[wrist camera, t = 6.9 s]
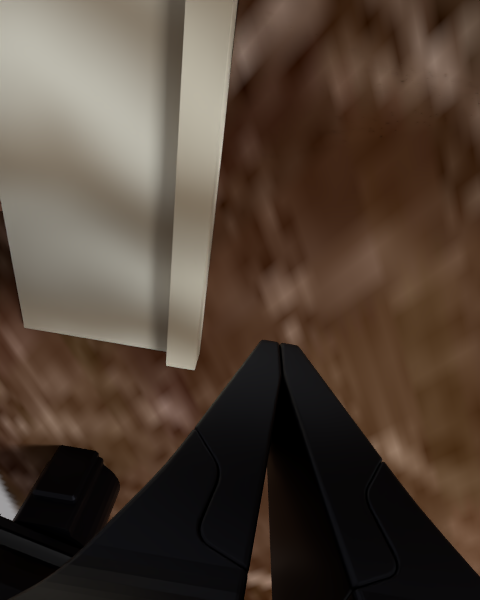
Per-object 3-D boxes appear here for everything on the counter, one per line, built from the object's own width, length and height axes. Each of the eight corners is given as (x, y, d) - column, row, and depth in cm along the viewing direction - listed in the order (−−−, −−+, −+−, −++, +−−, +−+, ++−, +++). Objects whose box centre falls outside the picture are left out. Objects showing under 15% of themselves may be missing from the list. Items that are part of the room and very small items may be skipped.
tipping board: (199, 352, 21) (194, 370, 20) (28, 323, 21) (12, 339, 20) (240, -14, 13) (235, -25, 11) (-40, -60, 13) (-76, -76, 11)
